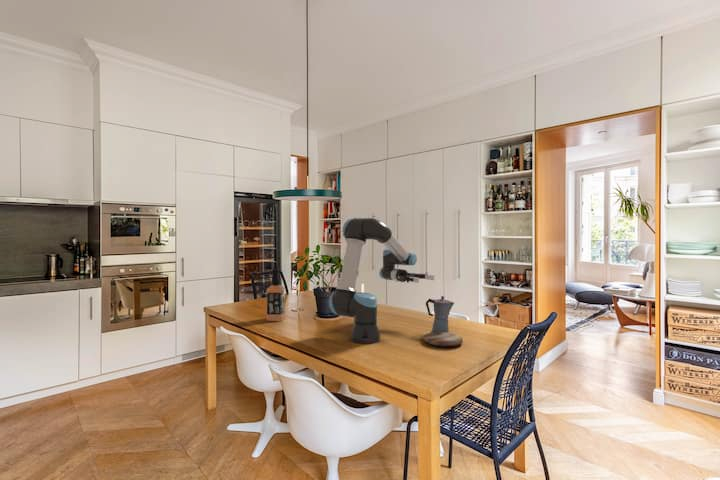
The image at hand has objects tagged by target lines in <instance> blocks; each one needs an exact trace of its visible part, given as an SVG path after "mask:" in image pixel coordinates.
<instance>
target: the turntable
mask: <svg viewBox="0 0 720 480" xmlns="http://www.w3.org/2000/svg"><path fill="white" fill-rule="evenodd" d="M423 341H424V342H425V343H428V344H429V345H431V344H433V345H432V346H434V345H438V346H453V347H455V345H456V346H459V345H461V344H462V343H463V337H462V336H461V335H459V334H456V333H452V332H449V333H446V332H433V331H432V332H428V333H425V334H423ZM438 346H437V347H438Z"/></svg>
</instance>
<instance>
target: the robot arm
mask: <svg viewBox="0 0 720 480" xmlns="http://www.w3.org/2000/svg"><path fill="white" fill-rule="evenodd" d="M342 236H343V237H344V241H345V242H346V248H345V253H344V258H343V263H342V268H341V269H342V270H341V274H340V280H339V285H338V286H337V287H336V288H335V290H334V291H335V292H332V293H331V294H330V295H329V299H328V306H329V309H330V311H331V313H332V314H334V315H338V316H340V317H341V316H343V317H349V318H353V321H354V322H353V323H354V324H353V328H352V330H351V334H350V341H352V342H354V343H357V344H373V343H379V341H380V340H381V334H380V330H379V327H378V318H377V317H378V316H377V315H378V303H377V302H378V301H377V300H378V299H377V296H376V295H374V294H372V293H369V292H361V291H360V292H357V290H356V285H357V280H358V279H357V278H358V273H359V269H360V268H359V267H360V261H361V255H362V251H363V247H364V246H365V245H366V243H367V240H374V241H377V242H378V243H380V244H382V245H383V246H384V247H385V249H383V251H382V267H381V268H380V270H379V272H378V275H379V277H380V278H381V279H382V280H383V279H384V280H387V281H394V282H396V283H398V282H401V283H405V282H406V283H408V284H409V283H410V282H411V283H420V279H424V280H429V281H435V275H432V274H428V273H426V272H425V273H415V272H412V273H411V272H408V270H406V269H401V268H400V269H399V268H395V267H396V265H398V266H410V267H411V266H415V265H416V263H417V260H418V258H417V254H416V253H413V252H409V251H408V250H407V249H406V248H405V247H404V245H402V244H401V242H400V240H398V239H397V237H395V236H394V235H393V231H392V229H390V227H389V226H387V225H386V224H385V223H383V222H382V221H380V220H379V219H376V218H373V217H362V218H361V217H359V218H358V217H354V218H349V219H347V220H346V221H345V222H344V223H343V225H342Z"/></svg>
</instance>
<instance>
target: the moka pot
mask: <svg viewBox="0 0 720 480" xmlns="http://www.w3.org/2000/svg"><path fill="white" fill-rule="evenodd" d="M440 297H441V298H438V299H432V298H428V300H426V301H425V306H426V310H427V313H428V316H431V317H433V316H434V320H433V323H432V329H431V331H432V332H446V333H450V330H449V316H450V312H451V309H452V308H453V306H454V305H455V302H454V301H451V300H448V299H445V296H443V295H441V296H440ZM429 303H431V304H433V312H434V314H433V313H431V311H430V306H429Z"/></svg>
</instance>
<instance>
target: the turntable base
mask: <svg viewBox="0 0 720 480" xmlns="http://www.w3.org/2000/svg"><path fill="white" fill-rule="evenodd" d="M431 345H432V346H434V347H439V348H451V347H455V346H456V347H457V345H455V346H438V345H433V344H430V346H431Z"/></svg>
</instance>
